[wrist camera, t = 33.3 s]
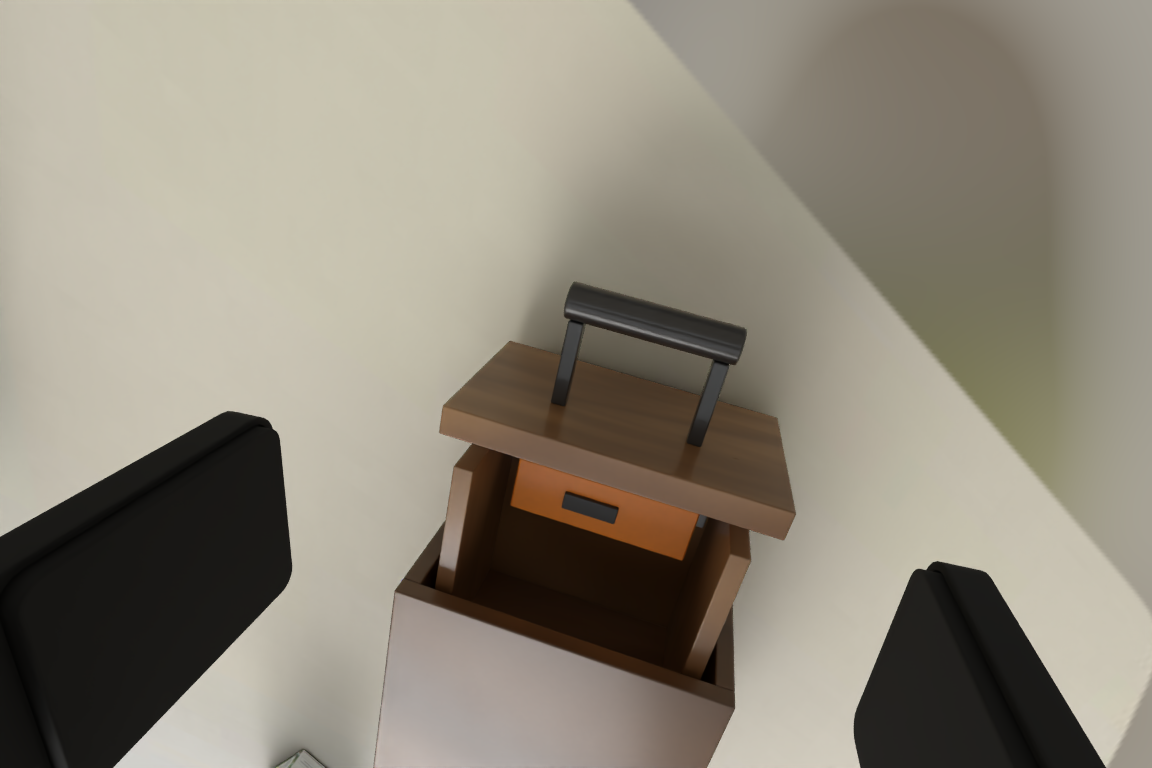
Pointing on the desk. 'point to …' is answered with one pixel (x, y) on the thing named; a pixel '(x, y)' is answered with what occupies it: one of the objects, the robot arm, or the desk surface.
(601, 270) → the desk surface
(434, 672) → the cabinet
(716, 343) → the drawer
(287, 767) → the syrup box
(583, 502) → the orange block with switch
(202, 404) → the desk surface
